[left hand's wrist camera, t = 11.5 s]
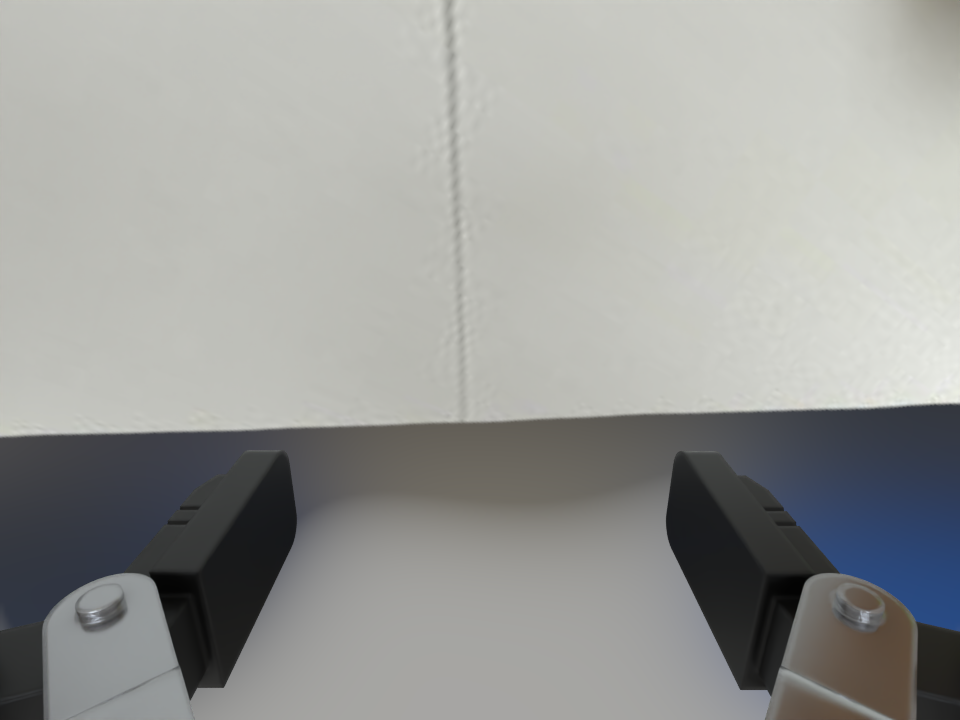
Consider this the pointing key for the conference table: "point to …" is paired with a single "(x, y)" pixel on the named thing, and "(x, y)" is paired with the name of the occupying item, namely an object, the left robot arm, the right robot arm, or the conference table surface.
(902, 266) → the conference table surface
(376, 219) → the conference table surface
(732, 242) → the conference table surface
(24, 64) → the conference table surface
